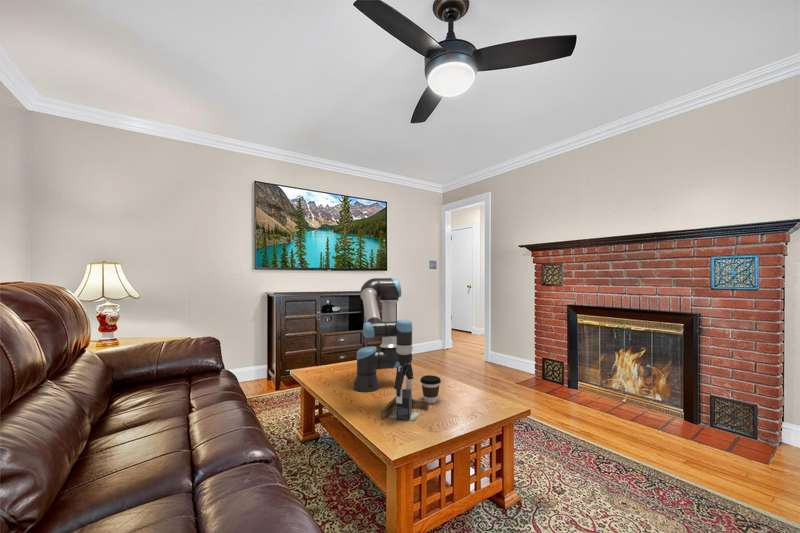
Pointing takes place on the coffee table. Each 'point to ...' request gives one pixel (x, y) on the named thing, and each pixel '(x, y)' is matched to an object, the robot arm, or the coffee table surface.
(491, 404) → the coffee table surface
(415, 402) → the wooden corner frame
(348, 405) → the coffee table surface
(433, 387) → the coffee cup
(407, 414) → the small box
